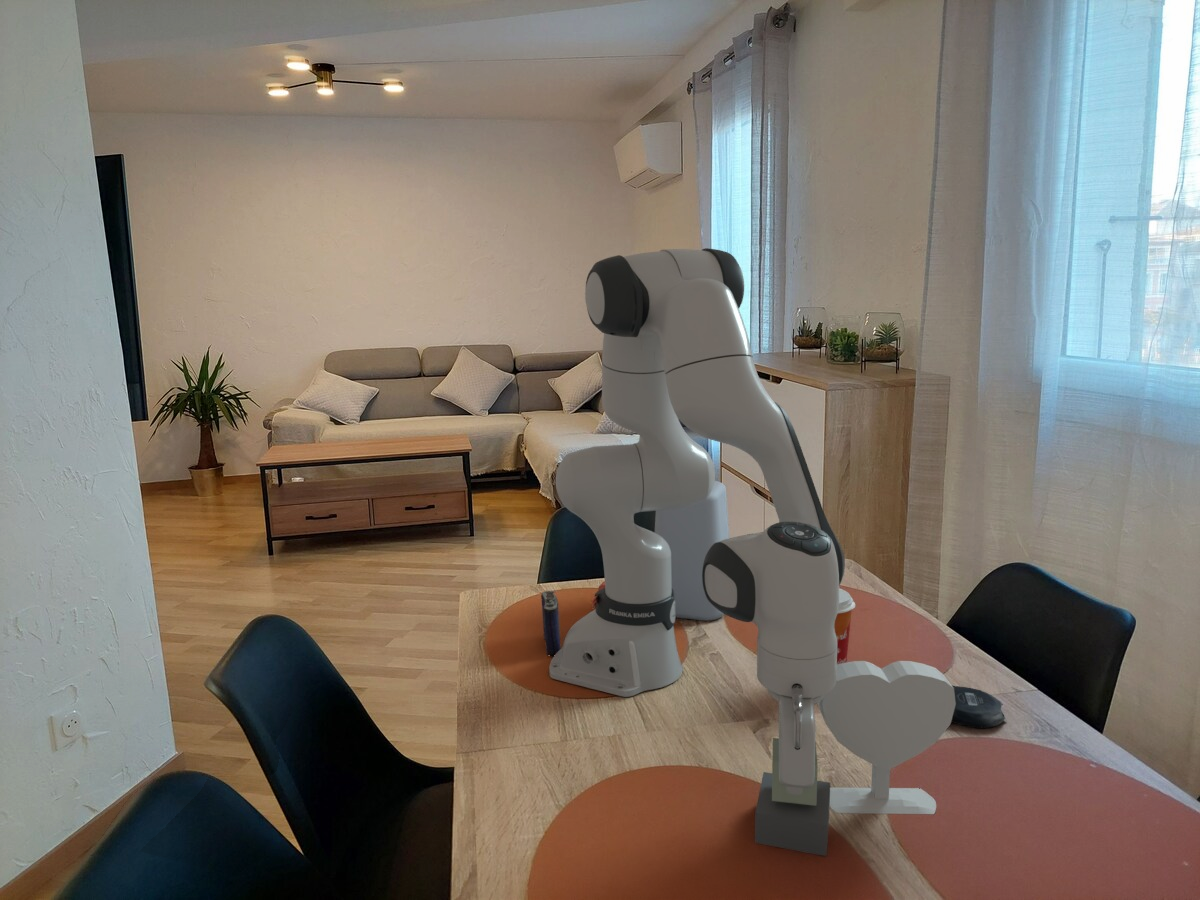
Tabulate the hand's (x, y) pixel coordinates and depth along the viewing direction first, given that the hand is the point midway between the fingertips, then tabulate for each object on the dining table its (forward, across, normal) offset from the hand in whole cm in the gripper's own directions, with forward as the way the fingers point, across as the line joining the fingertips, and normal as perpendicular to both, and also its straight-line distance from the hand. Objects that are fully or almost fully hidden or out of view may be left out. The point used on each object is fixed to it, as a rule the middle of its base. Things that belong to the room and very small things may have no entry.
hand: (793, 773), depth 93 cm
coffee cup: (+7, +36, -6) cm, 38 cm away
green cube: (+2, 0, 0) cm, 2 cm away
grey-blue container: (+8, +64, +19) cm, 67 cm away
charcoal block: (+7, 0, 0) cm, 7 cm away
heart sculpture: (+7, +7, -11) cm, 15 cm away
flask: (+8, +42, +42) cm, 60 cm away
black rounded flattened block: (+8, +30, -23) cm, 39 cm away
